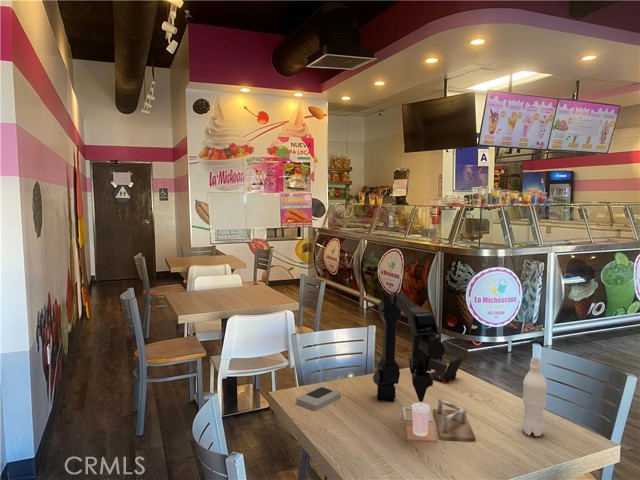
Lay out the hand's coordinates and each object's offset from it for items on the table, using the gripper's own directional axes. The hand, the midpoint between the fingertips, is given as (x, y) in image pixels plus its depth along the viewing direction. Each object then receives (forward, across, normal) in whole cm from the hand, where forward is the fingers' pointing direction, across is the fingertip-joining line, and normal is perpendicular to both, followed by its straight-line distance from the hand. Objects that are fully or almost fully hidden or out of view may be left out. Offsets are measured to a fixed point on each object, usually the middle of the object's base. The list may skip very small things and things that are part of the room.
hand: (419, 395), depth 157 cm
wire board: (+13, +6, -12) cm, 19 cm away
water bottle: (+13, +4, -38) cm, 40 cm away
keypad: (+14, +21, +36) cm, 44 cm away
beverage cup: (+13, -1, 0) cm, 13 cm away
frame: (+13, +13, 0) cm, 19 cm away
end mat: (+13, -1, 0) cm, 13 cm away
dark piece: (+13, +49, -15) cm, 53 cm away
